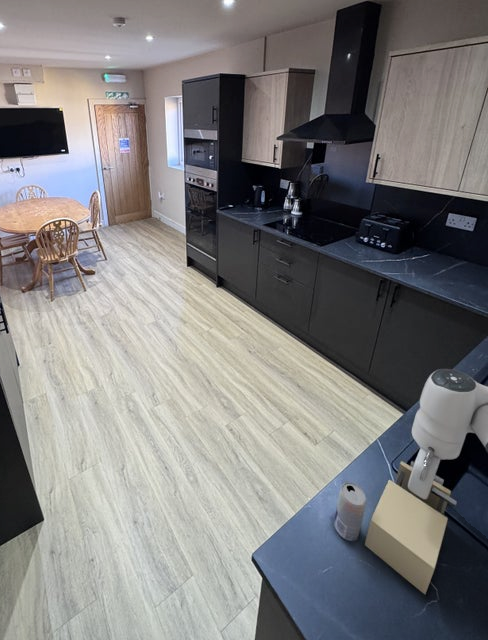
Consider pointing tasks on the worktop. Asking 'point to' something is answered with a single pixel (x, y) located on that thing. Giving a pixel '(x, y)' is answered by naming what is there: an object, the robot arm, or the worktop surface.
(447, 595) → the worktop surface
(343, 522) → the energy drink
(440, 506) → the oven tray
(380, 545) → the tan cardboard carton
